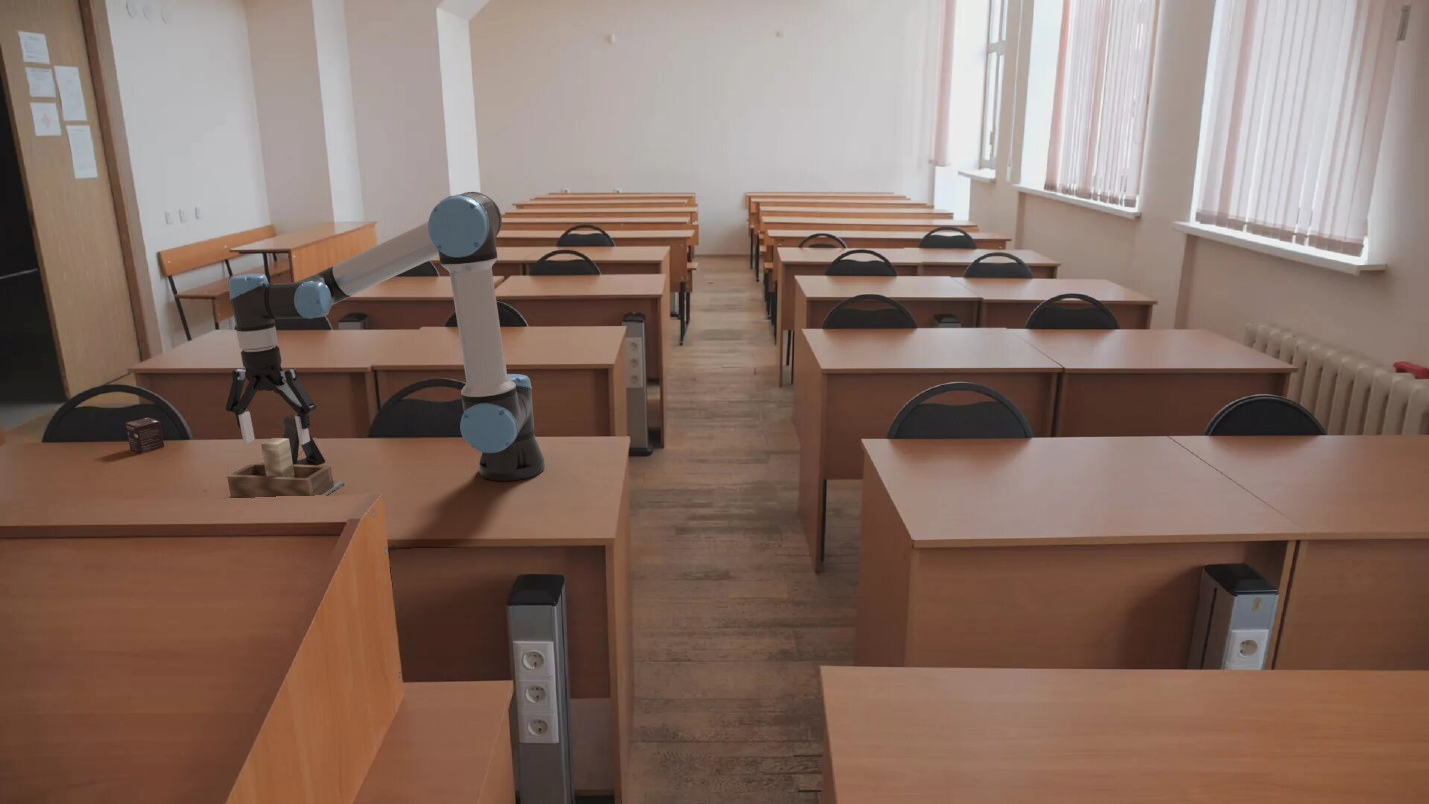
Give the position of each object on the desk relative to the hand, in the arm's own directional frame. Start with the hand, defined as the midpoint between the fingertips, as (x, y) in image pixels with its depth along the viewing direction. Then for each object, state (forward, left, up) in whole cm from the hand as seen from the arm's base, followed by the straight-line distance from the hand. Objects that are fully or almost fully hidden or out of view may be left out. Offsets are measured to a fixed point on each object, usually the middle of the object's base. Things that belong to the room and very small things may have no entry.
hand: (277, 442), depth 206 cm
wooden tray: (0, 0, -13) cm, 13 cm away
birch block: (0, 0, -12) cm, 12 cm away
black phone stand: (+8, -19, -13) cm, 24 cm away
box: (+56, -25, -13) cm, 63 cm away
